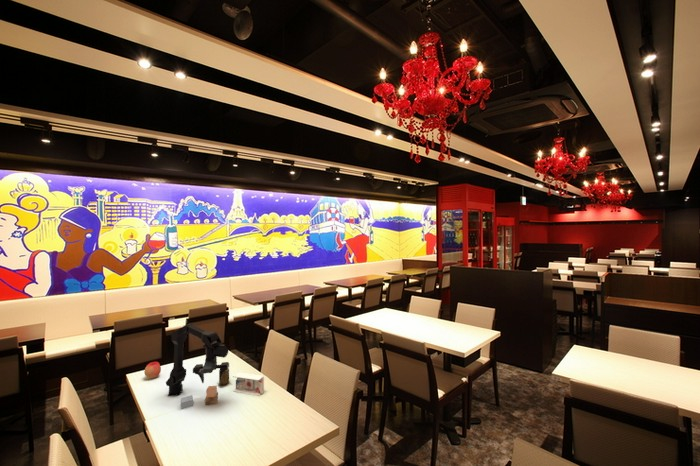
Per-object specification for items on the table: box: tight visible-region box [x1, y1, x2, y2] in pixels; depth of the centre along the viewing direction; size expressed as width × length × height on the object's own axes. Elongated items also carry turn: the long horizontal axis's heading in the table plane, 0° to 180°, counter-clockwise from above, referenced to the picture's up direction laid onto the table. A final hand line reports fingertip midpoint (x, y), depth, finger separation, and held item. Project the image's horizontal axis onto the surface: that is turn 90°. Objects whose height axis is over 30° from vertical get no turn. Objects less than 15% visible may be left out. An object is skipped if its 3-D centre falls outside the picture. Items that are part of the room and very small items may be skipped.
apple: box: [143, 361, 162, 380], centre depth 212 cm, size 10×10×10 cm
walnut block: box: [204, 391, 219, 406], centre depth 179 cm, size 6×6×4 cm
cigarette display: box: [232, 372, 265, 396], centre depth 191 cm, size 20×6×9 cm, turn 73°
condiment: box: [216, 367, 233, 388], centre depth 201 cm, size 7×8×12 cm
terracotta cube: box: [205, 384, 218, 398], centre depth 179 cm, size 4×4×4 cm
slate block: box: [180, 394, 194, 410], centre depth 176 cm, size 6×6×4 cm
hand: (211, 382), depth 179 cm, fingers open, 9 cm apart
